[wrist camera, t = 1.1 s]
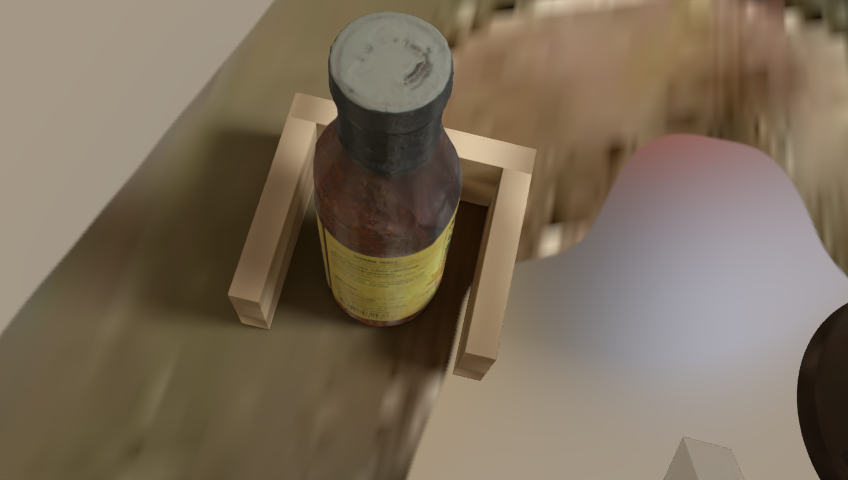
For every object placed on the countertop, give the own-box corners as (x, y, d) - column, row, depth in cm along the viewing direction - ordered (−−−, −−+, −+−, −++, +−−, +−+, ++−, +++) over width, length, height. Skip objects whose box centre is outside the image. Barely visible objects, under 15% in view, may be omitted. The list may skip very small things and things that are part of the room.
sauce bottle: (458, 301, 43) (537, 116, 24) (355, 350, 41) (355, 193, 23) (405, 203, 45) (440, -39, 26) (304, 246, 43) (267, 23, 25)
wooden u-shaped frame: (518, 190, 45) (536, 149, 41) (480, 380, 41) (496, 359, 37) (302, 138, 46) (296, 92, 41) (241, 323, 41) (227, 295, 37)
